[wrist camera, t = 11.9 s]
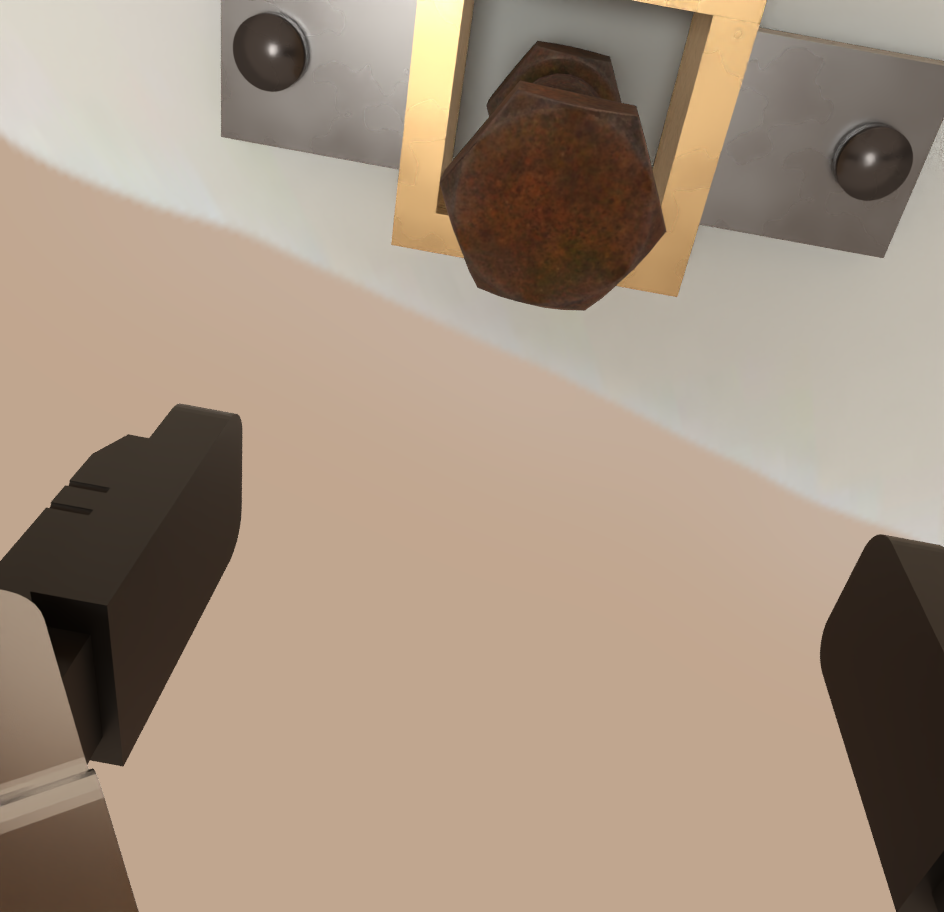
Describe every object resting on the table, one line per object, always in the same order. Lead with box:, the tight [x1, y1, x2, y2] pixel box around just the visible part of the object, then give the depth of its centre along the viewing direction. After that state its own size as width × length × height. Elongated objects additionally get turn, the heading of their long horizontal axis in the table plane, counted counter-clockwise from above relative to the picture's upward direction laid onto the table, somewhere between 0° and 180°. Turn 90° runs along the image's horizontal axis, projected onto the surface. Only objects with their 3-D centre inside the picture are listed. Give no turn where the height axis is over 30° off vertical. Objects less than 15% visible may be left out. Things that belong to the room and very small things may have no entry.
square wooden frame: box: [391, 0, 767, 297], centre depth 32 cm, size 11×11×4 cm
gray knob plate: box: [699, 27, 944, 258], centre depth 33 cm, size 9×7×2 cm
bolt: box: [440, 41, 667, 310], centre depth 28 cm, size 6×5×15 cm
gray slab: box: [221, 0, 418, 169], centre depth 33 cm, size 8×7×2 cm
